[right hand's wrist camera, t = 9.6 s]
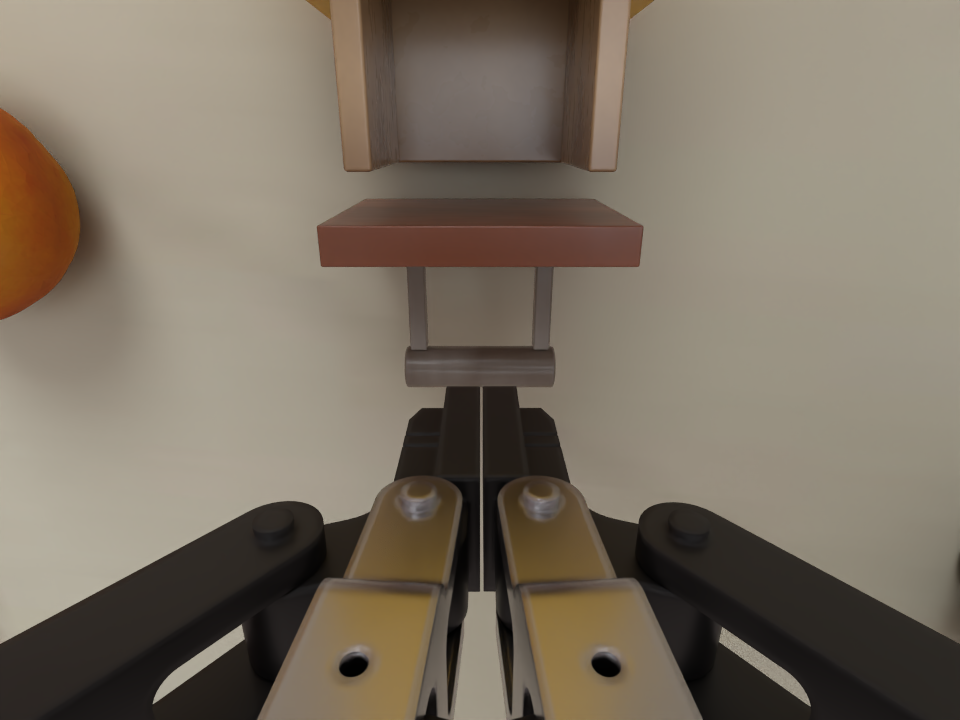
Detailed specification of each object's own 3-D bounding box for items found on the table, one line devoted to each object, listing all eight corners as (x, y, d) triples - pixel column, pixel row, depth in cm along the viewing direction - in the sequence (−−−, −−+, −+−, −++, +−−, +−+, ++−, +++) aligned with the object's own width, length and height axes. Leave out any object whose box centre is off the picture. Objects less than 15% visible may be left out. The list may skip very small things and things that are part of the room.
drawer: (584, 347, 25) (622, 425, 18) (375, 347, 25) (337, 425, 18) (642, -444, 16) (761, -867, 9) (317, -444, 16) (199, -867, 9)
